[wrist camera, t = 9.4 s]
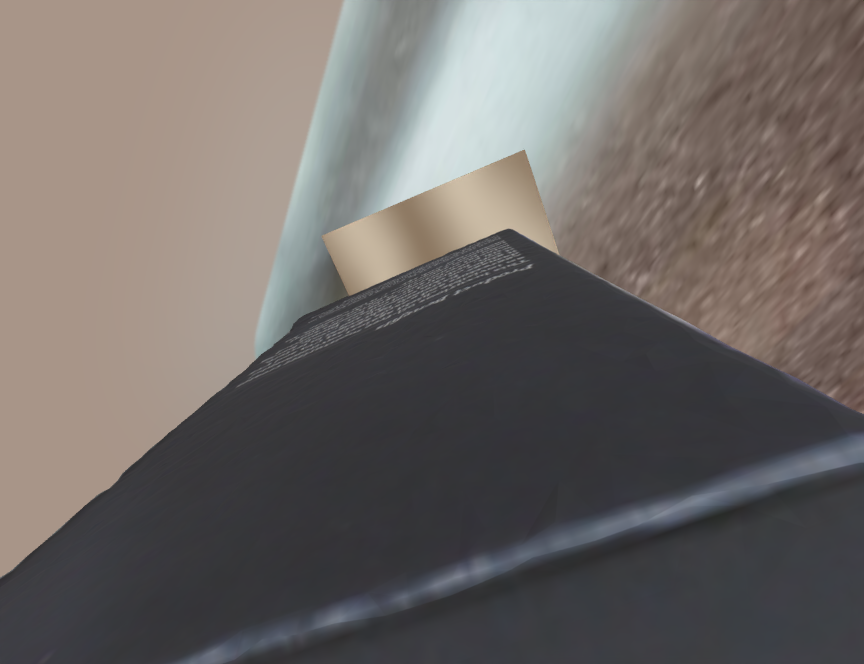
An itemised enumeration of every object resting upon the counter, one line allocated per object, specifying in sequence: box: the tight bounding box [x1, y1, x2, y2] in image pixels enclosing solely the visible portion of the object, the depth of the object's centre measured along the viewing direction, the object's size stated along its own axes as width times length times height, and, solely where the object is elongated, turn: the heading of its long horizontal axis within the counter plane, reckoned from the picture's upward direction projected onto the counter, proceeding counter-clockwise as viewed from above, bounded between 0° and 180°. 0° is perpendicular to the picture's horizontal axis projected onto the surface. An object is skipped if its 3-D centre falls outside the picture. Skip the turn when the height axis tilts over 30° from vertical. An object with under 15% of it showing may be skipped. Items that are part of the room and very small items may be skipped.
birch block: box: [322, 150, 559, 296], centre depth 30 cm, size 12×14×6 cm
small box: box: [0, 229, 864, 664], centre depth 8 cm, size 11×6×10 cm, turn 24°
